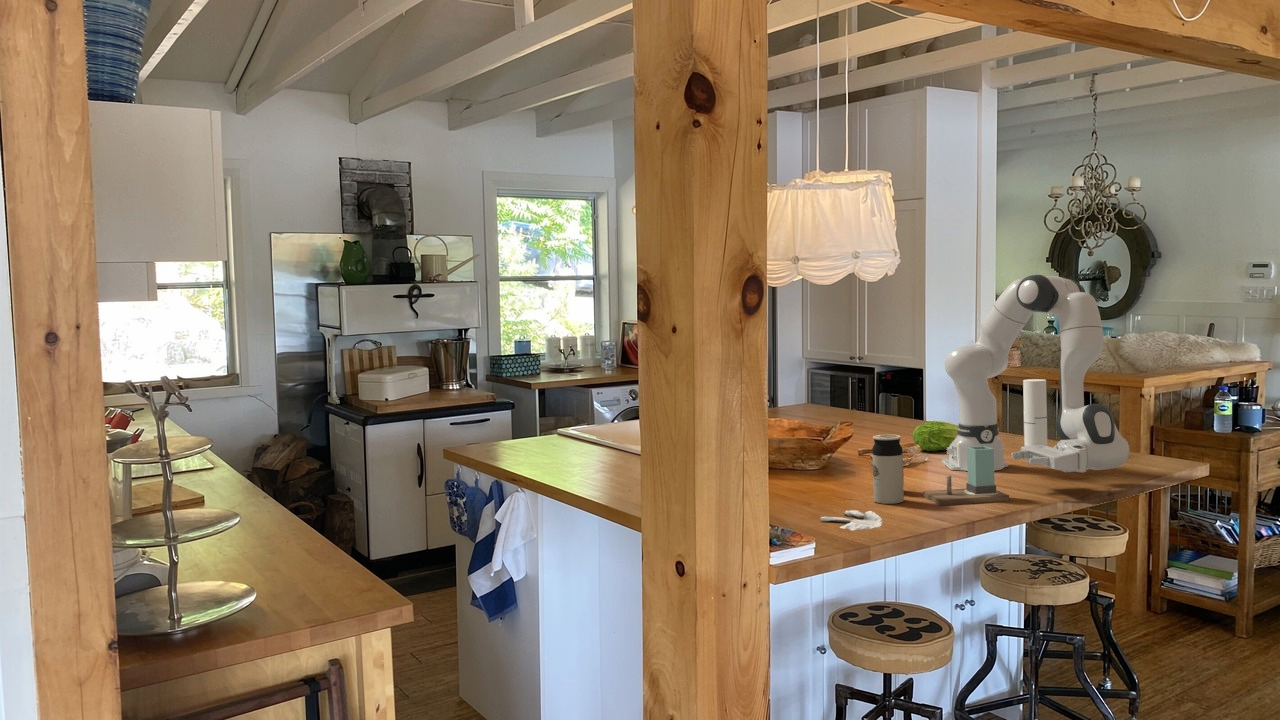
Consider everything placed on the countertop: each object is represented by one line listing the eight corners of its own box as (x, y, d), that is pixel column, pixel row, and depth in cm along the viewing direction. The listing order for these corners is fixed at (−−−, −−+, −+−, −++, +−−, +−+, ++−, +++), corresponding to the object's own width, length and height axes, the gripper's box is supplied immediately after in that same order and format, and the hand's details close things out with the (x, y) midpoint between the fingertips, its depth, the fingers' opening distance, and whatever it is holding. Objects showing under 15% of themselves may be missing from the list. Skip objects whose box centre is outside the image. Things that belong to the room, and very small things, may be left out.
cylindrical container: (1049, 455, 328) (1048, 380, 327) (1026, 455, 330) (1025, 381, 328) (1045, 452, 335) (1043, 378, 334) (1023, 452, 337) (1021, 379, 335)
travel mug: (901, 498, 274) (899, 433, 273) (906, 504, 266) (904, 438, 265) (872, 498, 275) (870, 434, 274) (875, 504, 267) (873, 438, 266)
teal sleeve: (966, 490, 272) (965, 447, 272) (986, 488, 273) (985, 445, 272) (975, 494, 267) (974, 450, 266) (996, 492, 267) (995, 448, 266)
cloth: (856, 536, 237) (856, 526, 237) (791, 521, 255) (791, 512, 255) (911, 521, 249) (911, 512, 249) (846, 508, 267) (846, 500, 267)
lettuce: (991, 435, 344) (975, 411, 354) (930, 437, 338) (914, 412, 347) (978, 460, 351) (962, 436, 361) (918, 462, 345) (903, 437, 354)
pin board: (923, 496, 275) (922, 473, 274) (989, 492, 276) (988, 469, 276) (940, 505, 263) (939, 481, 262) (1009, 500, 264) (1008, 476, 264)
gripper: (1049, 439, 282) (1003, 442, 280) (1088, 449, 261) (1038, 453, 260) (1050, 461, 282) (1003, 464, 281) (1089, 473, 262) (1039, 476, 260)
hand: (1020, 458), depth 270 cm, fingers open, 8 cm apart
